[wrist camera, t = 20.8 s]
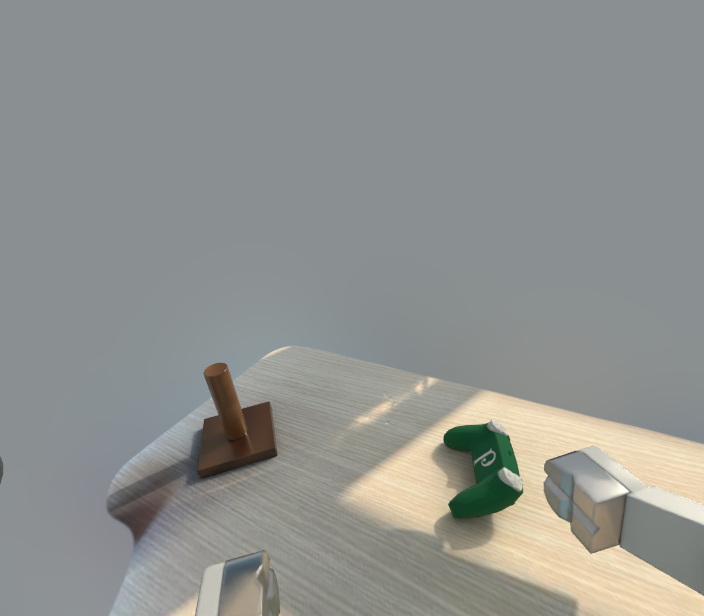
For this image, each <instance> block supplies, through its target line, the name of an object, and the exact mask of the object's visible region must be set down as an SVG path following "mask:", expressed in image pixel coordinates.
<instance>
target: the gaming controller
mask: <svg viewBox="0 0 704 616" xmlns="http://www.w3.org/2000/svg"><path fill="white" fill-rule="evenodd" d="M444 443H445V444H446V445H447V446H448V447H450V448H453V449H456V450H463V451H471V452H472V459H473V465H474V472H475V478H476V483H477V484H476V485H474V486H472V487H470V488H468V489H466V490H464V491H462V492H461V493H459V494H458V495H457V496H455V497H454V498H453V499H452V500H451V501H450V502H449V504H448V505H449V507H450V510H451V512H452V514H453V517H454V518H468V517H479V516H483V515H487V514H491V513H495V512H499V511H501V510H503V509H505V508H507V507H509V506H510V505H513V504H515V501H516V500H517V499H518V498H519V497H520V496H521V495H522V494H523V485H522V479H521V478H520V476H519V470H518V465H517V462H516V458H515V455H514V451H513V448H512V445H511V443H510V438H509V436H508V432H507V431H506V429H505V428H504V427H503V426H502V425H501V424H499V423H498V422H496V421H494V420H491V422H489V423H486V424H482V425H465V426H458V427H454V428H452V429H450V430H448V431H447V432H446V434H445V435H444Z"/></svg>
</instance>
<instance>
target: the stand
mask: <svg viewBox="0 0 704 616" xmlns="http://www.w3.org/2000/svg"><path fill="white" fill-rule="evenodd" d="M204 376H205V379H206V382H207V384H208V387H209V390H210V392H211V395H212V398H213V401H214V404H215V406H216V409H217V412H218V416H214V417H210V418H207V419H204V424H203V432H202V440H201V448H200V455H199V463H198V473H199V475H200V478H204V477H208V476H211V475H214V474H217V473H221V472H224V471H227V470H231V469H234V468H237V467H240V466H244V465H247V464H250V463H254V462H257V461H260V460H264V459H267V458H270V457H273V456H277V448H276V440H275V431H274V423H273V415H272V408H271V404H270V401H269V402H265V403H262V404H258V405H254V406H251V407H247V408H243V409H241V406H240V403H239V400H238V397H237V394H236V391H235V388H234V385H233V381H232V379H231V375H230V372H229V370H228V366H227V365H226V364H225V363H216V364H213V365H211V366H209V367H207V368H206V369H205V371H204Z"/></svg>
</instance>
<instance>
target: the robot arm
mask: <svg viewBox="0 0 704 616" xmlns="http://www.w3.org/2000/svg"><path fill="white" fill-rule="evenodd" d="M544 471H545V472H546V473H547V474H548V477H547V478H546V480H545V481H544V493H545V496H546V499H547V501H548V503H549V505H550V506H551V508H552V509H553V511H554V512H555V513H556V514H557V515H558V517H560V518H562V519H564V520H566V521H568V522H570V526H571V532H572V533H573V534H574V535H575V536H576V537H577V539H578V540H579V541H580V542H581V543H582V544H583V545H584V547H585V548H586V549H587V550H588V551H589V552H590V553H591V554H592V553H595V552H598V551H601V550H604V549H607V548H610V547H614V546H617V545H620V547H621V548H623V549H625V550H626V551H628V552H630V553H631V554H633V555H635V556H637V557H638V558H640V559H642V560H643V561H645V562H647V563H649V564H650V565H652V566H654V567H655V568H657V569H659V570H661V571H662V572H664V573H666V574H667V575H669V576H671V577H673V578H674V579H676V580H678V581H679V582H681V583H683V584H685V585H686V586H688V587H690V588H692V589H693V590H695V591H697V592H698V593H700V594H702V595H704V504H702V503H699V502H696V501H693V500H691V499H688V498H685V497H682V496H680V495H677V494H674V493H671V492H669V491H666V490H663V489H660V488H658V487H655V486H651V487H647V486H646V485H645V484H644V483H642V482H641V481H640V480H639V479H637V478H636V477H635V476H634V475H632V474H631V473H630V472H629V471H627V470H626V469H625V468H624V467H622V466H621V465H620V464H619V463H617V462H616V461H615V460H614V459H612V458H611V457H610V456H609V455H607V454H606V453H605V452H604V451H602V450H601V449H600V448H598V447H595V446H591V447H588V448H585V449H581V450H578V451H574V452H571V453H568V454H565V455H562V456H559V457H556V458H553V459H550V460H547V461H546V463H545V464H544ZM279 613H280V601H279V591H278V584H277V579H276V575H275V572H274V570H273V569H271V568H270V558H269V556H268V553H267V551H266V550H263V551H259V552H256V553H252V554H249V555H245V556H242V557H238V558H235V559H231V560H228V561H224V562H221V563H218V564H215V565H211V566H208V567H206V568H205V570H204V573H203V575H202V580H201V586H200V591H199V597H198V602H197V608H196V613H195V616H278V615H279Z"/></svg>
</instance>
